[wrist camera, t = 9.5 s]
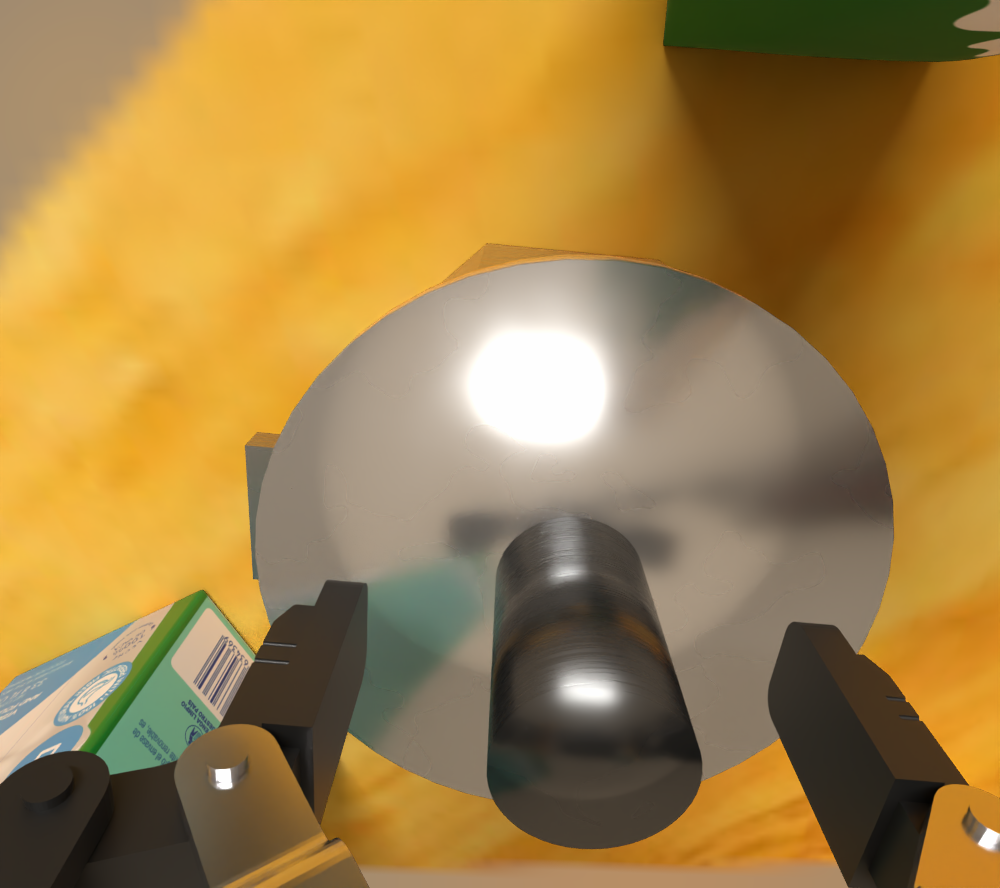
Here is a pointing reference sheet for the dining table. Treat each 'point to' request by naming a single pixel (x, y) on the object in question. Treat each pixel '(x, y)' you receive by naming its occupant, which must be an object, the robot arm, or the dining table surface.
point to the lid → (577, 532)
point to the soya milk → (839, 28)
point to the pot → (487, 256)
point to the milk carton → (128, 691)
